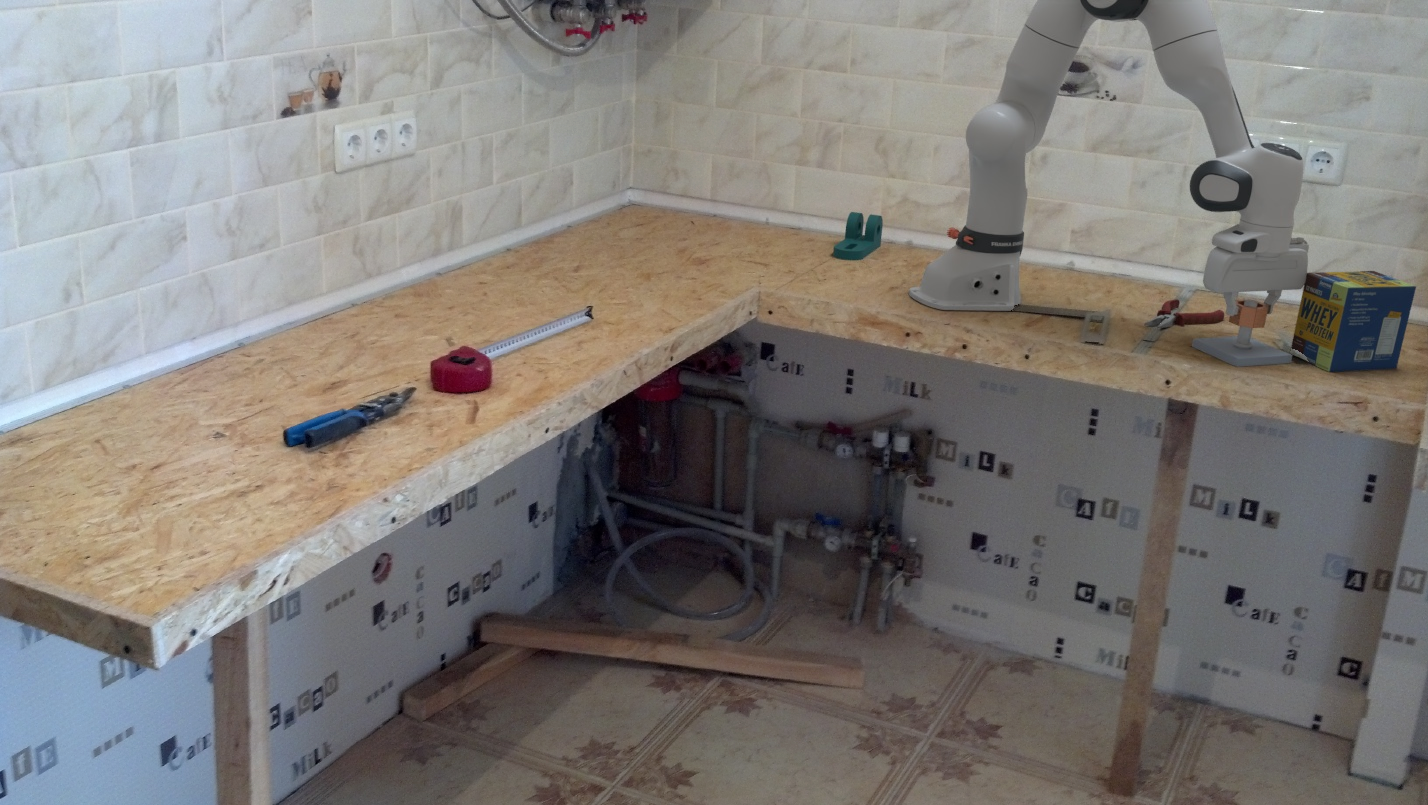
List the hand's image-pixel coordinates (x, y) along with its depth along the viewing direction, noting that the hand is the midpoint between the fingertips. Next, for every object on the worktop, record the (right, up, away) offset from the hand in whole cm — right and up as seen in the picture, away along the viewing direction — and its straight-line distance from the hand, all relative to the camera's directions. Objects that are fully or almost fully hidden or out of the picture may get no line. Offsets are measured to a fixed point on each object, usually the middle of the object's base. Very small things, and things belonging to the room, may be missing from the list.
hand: (1248, 314), depth 243 cm
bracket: (-64, +18, +63) cm, 91 cm away
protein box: (+18, -9, +2) cm, 20 cm away
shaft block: (0, -7, +2) cm, 8 cm away
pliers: (-6, 0, +24) cm, 25 cm away
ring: (0, -2, 0) cm, 2 cm away
